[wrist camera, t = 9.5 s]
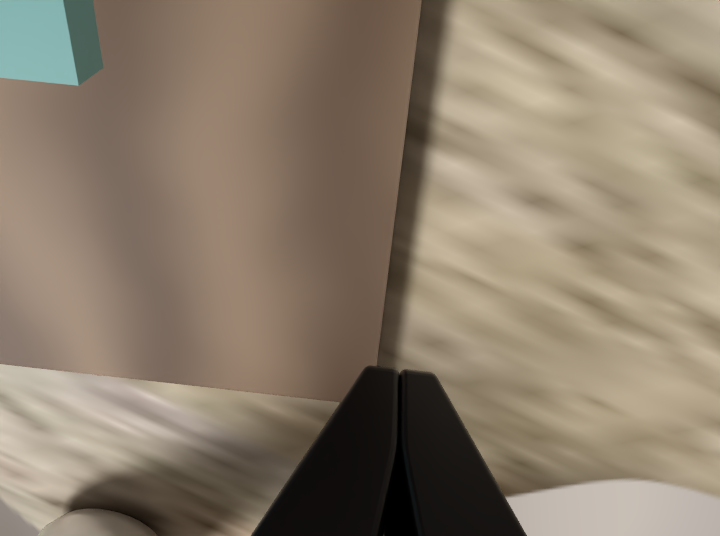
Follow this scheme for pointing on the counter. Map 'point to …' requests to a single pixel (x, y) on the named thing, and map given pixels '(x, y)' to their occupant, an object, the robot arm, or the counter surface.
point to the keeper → (49, 41)
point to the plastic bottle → (96, 524)
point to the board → (209, 195)
